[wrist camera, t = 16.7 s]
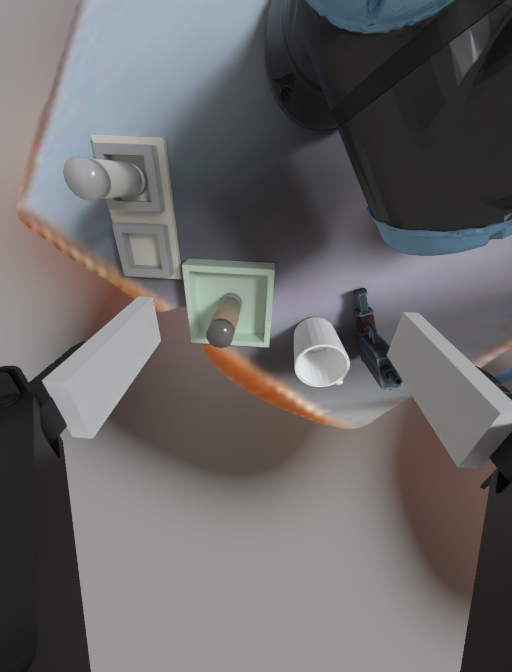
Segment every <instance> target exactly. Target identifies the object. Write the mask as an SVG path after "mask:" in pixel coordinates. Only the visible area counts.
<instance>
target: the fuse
mask: <svg viewBox="0 0 512 672" xmlns="http://www.w3.org/2000/svg"><path fill="white" fill-rule="evenodd" d="M63 172H64V178H65V181H66V183H67V185H68V187H69V188H70V190H71V191H72V192H73V193H74V194H75V195H77V196H78V197H80V198H82V199H85V200H94V199H107V198H115V197H123V196H132V195H137V194H142V193H144V192H145V191H146V189H147V187H148V179H147V175H146V173H145V171H144V170H143V169H142V168H141V167H140V166H139V165H137V164H134V163H128V162H121V161H112V160H103V159H94V158H79V157H73V158H70V159H68V160H67V161H66V163H65V165H64V170H63Z"/></svg>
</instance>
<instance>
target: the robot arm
mask: <svg viewBox="0 0 512 672" xmlns="http://www.w3.org/2000/svg"><path fill="white" fill-rule="evenodd" d="M450 42H451V43H450ZM433 55H434V56H433ZM429 58H430V59H429ZM265 60H266V69H267V75H268V80H269V83H270V87H271V90H272V92H273V95H274V97H275V99H276V101H277V103H278V104H279V106H280V107H281V109H282V110H283V111H284V113H285V114H286V115H287V116H288V117H289V118H290V119H291V120H293V121H294V122H295V123H297V124H299V125H301V126H303V127H305V128H308V129H313V130H329V129H333V128H337V127H338V131H339V134H340V136H341V139H342V141H343V144H344V146H345V149H346V151H347V154H348V156H349V159H350V161H351V164H352V166H353V169H354V171H355V174H356V176H357V179H358V181H359V184H360V186H361V189H362V191H363V194H364V196H365V199H366V201H367V204H368V207H367V210H368V213H369V216H370V218H371V219H372V220H373V221H374V222H375V223H376V225H377V227H378V230H379V232H380V234H381V236H382V238H383V240H384V241H385V243H386V244H388V245H389V246H390V247H391V248H393V249H394V250H396V251H398V252H401V253H405V254H409V255H418V256H434V255H445V254H452V253H458V252H463V251H467V250H471V249H474V248H478V247H481V246H484V245H486V244H487V243H488V240H491V239H503V238H505V237H507V236H509V235H512V0H271V4H270V7H269V12H268V16H267V22H266V30H265ZM425 61H426V62H425ZM421 64H422V65H421ZM416 68H417V69H416ZM412 71H413V72H412ZM408 74H409V75H408ZM404 77H405V78H404ZM403 78H404V79H403ZM399 81H400V82H399ZM395 84H396V85H395ZM386 91H387V92H386ZM382 94H383V95H382ZM378 97H379V98H378ZM374 100H375V101H374ZM373 101H374V102H373ZM340 126H341V127H340ZM339 127H340V128H339ZM160 341H161V338H160V333H159V327H158V322H157V318H156V312H155V307H154V302H153V297H137V298H136V299H135V300H134V301H133V302H132V303H130V304H129V305H128V306H127V307H126V308H125V309H124V310H123V311H121V312H120V313H119V314H118V315H117V316H116V317H114V318H113V319H112V320H111V321H110V322H109V323H108V324H106V325H105V326H104V327H103V328H102V329H101V330H100V331H98V332H97V333H96V334H95V335H94V336H93V337H91V338H90V339H89V340H88V341H87V342H86V341H83V342H81V343H79V344H77V345H75V346H73V347H71V348H70V349H69V350H68V351H67V352H65V353H64V354H63V355H62V357H59V358H58V359H57V360H56V361H55V362H54V363H52V364H51V365H50V366H48V367H47V368H46V369H45V370H44V371H42V372H41V373H40V374H39V375H38V376H36V377H35V378H34V379H33V380H32V381H31V382H28V381H27V379H26V378H25V376H24V374H23V373H22V371H21V369H20V368H19V367H16V366H3V367H0V672H91V669H90V662H89V654H88V646H87V638H86V629H85V621H84V613H83V604H82V596H81V588H80V580H79V571H78V563H77V555H76V547H75V538H74V530H73V522H72V513H71V505H70V497H69V489H68V480H67V472H66V464H65V456H64V447H63V441H62V439H61V437H60V434H61V432H62V431H63V430H64V429H65V428H66V427H67V428H68V429H69V431H70V433H71V435H72V437H80V438H93V437H94V436H95V434H96V433H97V432H98V430H99V429H100V427H101V426H102V425H103V423H104V422H105V420H106V419H107V417H108V416H109V414H110V413H111V412H112V410H113V409H114V407H115V406H116V404H117V403H118V401H119V400H120V399H121V397H122V396H123V394H124V393H125V391H126V390H127V389H128V387H129V386H130V384H131V383H132V382H133V380H134V379H135V377H136V376H137V374H138V373H139V372H140V370H141V369H142V367H143V366H144V364H145V363H146V361H147V360H148V359H149V357H150V356H151V354H152V353H153V352H154V350H155V349H156V347H157V346H158V344H159V343H160ZM387 357H388V358H389V360H390V361H391V363H392V364H393V366H394V368H395V369H396V371H397V372H398V374H399V375H400V377H401V379H402V380H403V382H404V383H405V385H406V387H407V388H408V390H409V391H410V393H411V394H412V396H413V397H414V399H415V401H416V402H417V404H418V405H419V407H420V409H421V410H422V412H423V413H424V415H425V417H426V418H427V420H428V421H429V423H430V424H431V426H432V428H433V429H434V431H435V432H436V434H437V435H438V437H439V439H440V440H441V442H442V443H443V444H444V446H445V448H446V450H447V451H448V453H449V454H450V456H451V457H452V459H453V461H454V462H455V464H456V465H457V467H462V468H474V469H480V468H481V467H482V466H483V465H484V464H485V463H486V462H487V460H488V459H489V458H490V459H491V461H492V462H493V463H494V464H495V466H496V467H497V469H496V470H495V471H494V472H493V473H492V474H491V475H490V476H489V477H488V478H487V479H486V480H485V481H484V482H483V483H482V485H481V488H483V489H485V488H486V487H487V486H490V487H489V494H488V500H487V507H486V513H485V519H484V525H483V532H482V538H481V545H480V550H479V557H478V563H477V569H476V576H475V582H474V589H473V595H472V601H471V608H470V614H469V621H468V626H467V633H466V639H465V645H464V652H463V658H462V664H461V671H460V672H512V394H510V391H509V390H507V389H506V388H505V387H504V386H502V385H501V383H500V382H499V381H498V380H497V379H495V378H494V377H493V376H492V375H491V374H489V373H487V372H486V371H484V370H483V369H481V368H479V367H478V366H474V365H473V364H472V363H471V362H470V361H469V360H468V359H467V358H466V357H465V356H464V355H463V354H462V353H461V352H460V351H458V350H457V349H456V348H455V347H454V346H453V345H452V344H451V343H450V342H449V341H448V340H447V339H446V338H445V337H444V336H442V335H441V334H440V333H439V332H438V331H437V330H436V329H435V328H434V327H433V326H432V325H431V324H430V323H429V322H428V321H426V320H425V319H424V318H423V317H422V316H421V315H420V314H419V313H411V312H403V314H402V317H401V319H400V322H399V324H398V327H397V330H396V332H395V335H394V338H393V340H392V343H391V345H390V348H389V351H388V353H387Z"/></svg>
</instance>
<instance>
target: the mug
mask: <svg viewBox="0 0 512 672" xmlns="http://www.w3.org/2000/svg"><path fill="white" fill-rule="evenodd" d="M294 362H295V372H296V375H297V376H298V378H299V379H300V380H301V381H302V382H304V383H305V384H308V385H310V386H315V387H325V386H330V385H333V384H336V385H341V384H342V383H343V378H344V377H345V375H346V374H347V372H348V370H349V366H350V361H349V357H348V355H347V353H346V351H345V349H344V347H343V345H342V343H341V341H340V339H339V337H338V335H337V333H336V331H335V329H334V327H333V325H332V324H331V323H330V322H329V321H328V320H326V319H324V318H320V317H311V318H307V319H305V320H303V321H301V322H300V323H299V324H298V325H297V327H296V328H295V331H294Z"/></svg>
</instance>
